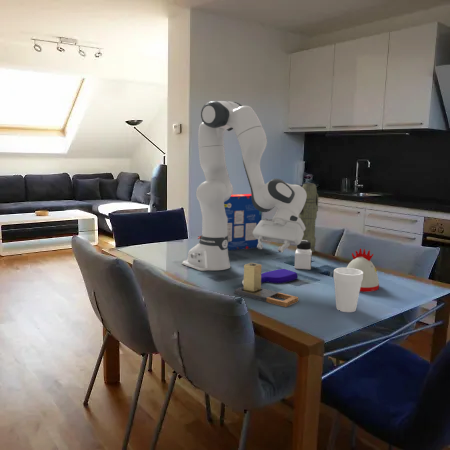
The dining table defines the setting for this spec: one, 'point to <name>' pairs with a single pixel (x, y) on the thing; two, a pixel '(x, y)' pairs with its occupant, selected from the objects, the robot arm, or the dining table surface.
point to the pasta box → (241, 222)
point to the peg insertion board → (269, 296)
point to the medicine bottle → (303, 255)
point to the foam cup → (347, 288)
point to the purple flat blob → (278, 276)
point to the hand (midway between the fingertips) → (269, 249)
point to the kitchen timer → (365, 270)
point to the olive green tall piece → (310, 213)
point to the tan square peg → (252, 277)
